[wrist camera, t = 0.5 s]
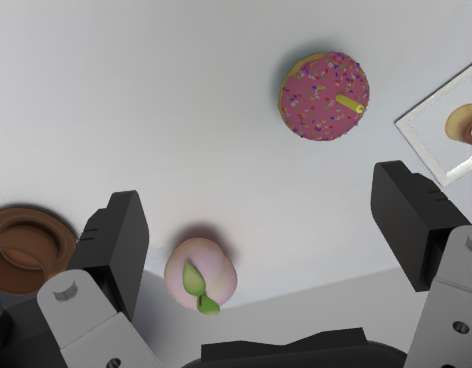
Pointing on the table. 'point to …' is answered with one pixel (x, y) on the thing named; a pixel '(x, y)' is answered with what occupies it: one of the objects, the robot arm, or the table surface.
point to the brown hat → (31, 250)
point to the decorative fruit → (200, 275)
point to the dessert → (457, 128)
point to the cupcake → (323, 96)
